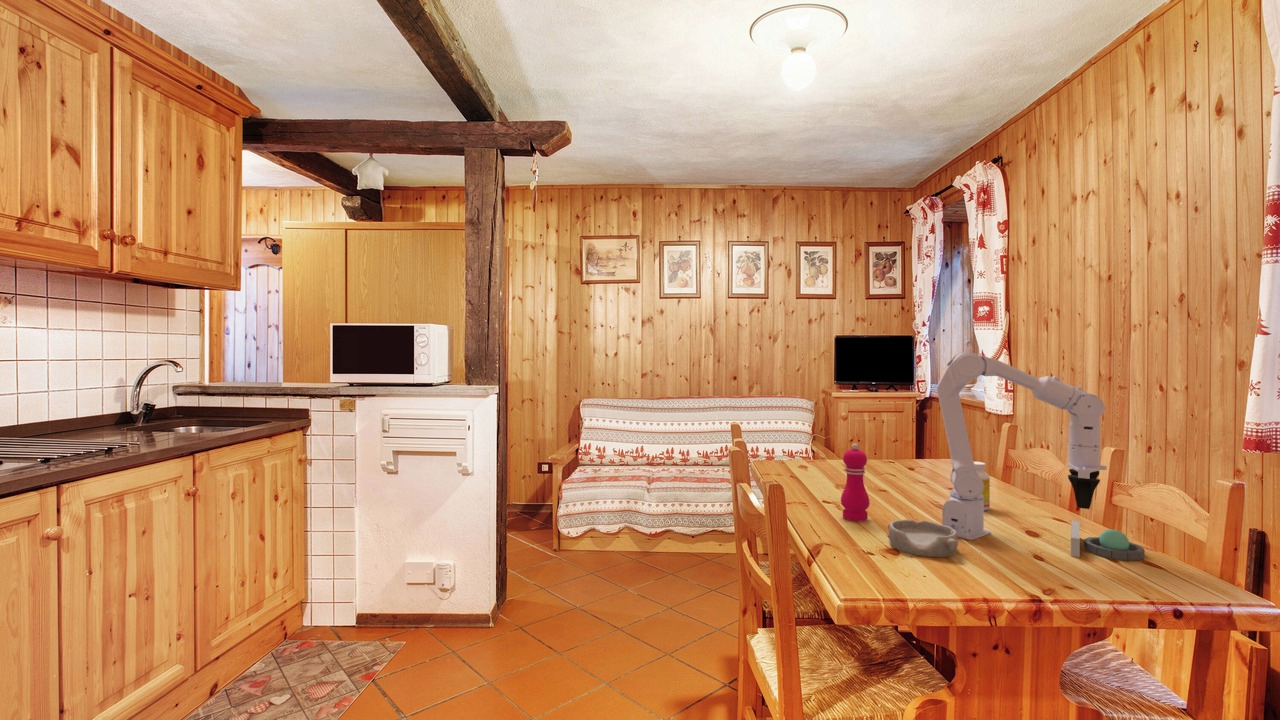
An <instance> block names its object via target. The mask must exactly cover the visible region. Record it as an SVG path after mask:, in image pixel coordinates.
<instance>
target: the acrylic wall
mask: <svg viewBox="0 0 1280 720" xmlns="http://www.w3.org/2000/svg"><path fill="white" fill-rule="evenodd" d="M1080 528H1081V527H1080V520H1075V519H1072V520H1071V527H1070V556H1071V557H1075V558H1080V555H1081V554H1080V551H1081V550H1080V547H1081V546H1080V543H1081V542H1080V540H1081V539H1080V536H1081V534H1080Z"/></svg>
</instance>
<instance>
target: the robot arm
mask: <svg viewBox="0 0 1280 720" xmlns="http://www.w3.org/2000/svg"><path fill="white" fill-rule="evenodd" d="M981 376H984V377H998V378H1001V379H1004V380H1006V381H1009V382H1011V383H1013V384H1016V385H1018V386H1021V387H1024V388H1026V389H1029V390H1030V391H1031V392H1032V395H1033V398H1034V399H1036V400H1039V401H1041V402H1044V403H1046V404H1049V405H1051V406H1054V407H1055V408H1058V409H1060V410H1062V411H1067V412H1068V413H1069V423H1068V462H1067V467H1068V468H1069V470H1068V471H1069V474H1068V476H1067V478H1068V480H1069V482H1070V484H1071V487H1072V488H1073V492H1074V498H1075V503H1076V507H1077V508H1078V509H1085V510H1090V509H1091V506H1092V503H1093V502H1092V501H1093V496H1094V493H1095V490H1096V488H1097V486H1098V485H1099V484H1100V482H1101V479H1099V478H1098V477H1099V475H1100V471H1107V470H1108V468H1107V465H1101V429H1102V428H1101V417H1102V416H1103V414H1104V413H1105V412H1106V406H1105V405H1104V401H1103V400H1101V398H1100V397H1099V396H1097V395H1095V394H1093V393H1088V392H1087V391H1084V390H1083V389H1084V388H1082V387H1081V386H1078V385H1077V386H1073V385H1070V384H1068V383H1066V382H1063V381H1061V378H1060V377H1058V376H1057V375H1056V376H1055V375H1054V376H1052V377H1051V376H1049V375H1045V376H1042V377H1036V376H1034V375H1031V374H1029V373H1027V372H1026V371H1023V370H1021V369H1019V368H1017V367H1014V366H1012V365H1010V364H1007V363H1005V362H1003V361H1000V360H998V359H995V358H991V357H988V356H984V355H979V354H977V353H975V352H967V351H965V352H959V353H957V354H956V355H955V356H953V357H952V359H950V360H949V361H948V362H947V363H946V365H945V369H944V371H943V372H942V374H941V377H940V379H939V381H938V383H937V386H936V392H937V397H938V402H939V406H940V410H941V411H940V412H941V415H942V416H941V417H942V421H943V426H944V429H945V430H944V431H945V434H946V440H947V445H948V450H949V453H950V459H951V460H950V461H951V468H952V471H951V473H950V482H951V483H952V485H953V487H952V489H951V490H950V491H949V498H948V500H947V501H945V502H944V503H943V505H942V510H941V511H942V513H941V515H942V523H941V525H945V526H949V527H951V528H953V529H954V530H956V532H957V537H958V538H962V539H965V540H970V541H972V540H976V539H979V538H981V537H984V536H987V535H990V534H992V531H991V530H988V529H984V523H985V521H984V520H985V519H984V513H985V512H984V496H983V495H982V492H983V490H984V483H983V481H982V479H981V478H980V477H979V476H978V473H977V472H976V467H975V464H974V457H973V454H972V449H971V445H970V440H969V436H968V430H967V426H966V421H965V416H964V411H963V405H962V402H961V397H960V393H961V392H962V390H963V389H964V388H965V387H966V386H967V385H968V384H969V383H970V382H973V380H976V379H977V378H979V377H981Z"/></svg>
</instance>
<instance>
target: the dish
mask: <svg viewBox="0 0 1280 720" xmlns="http://www.w3.org/2000/svg"><path fill="white" fill-rule="evenodd" d="M887 528H888V540H889V543H890V544H891V546H892V547H893V548H895V549H897V550H899V551H901V552H904V553H907V554H911V555H915V556H920V557H928V558H929V557H931V558H947V557H950V556H951V557H952V556H953V555H954V554H956V552H957V548H958V545H959V539H958V538H959V537H957V532H956V530H954V529H953V528H951V527H949V526H945V525H942V523H941V524H940V523H938V522H933V521H928V520H921V521H915V520H914V519H898V520H892V521H890V522H889V523H888V525H887Z"/></svg>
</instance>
